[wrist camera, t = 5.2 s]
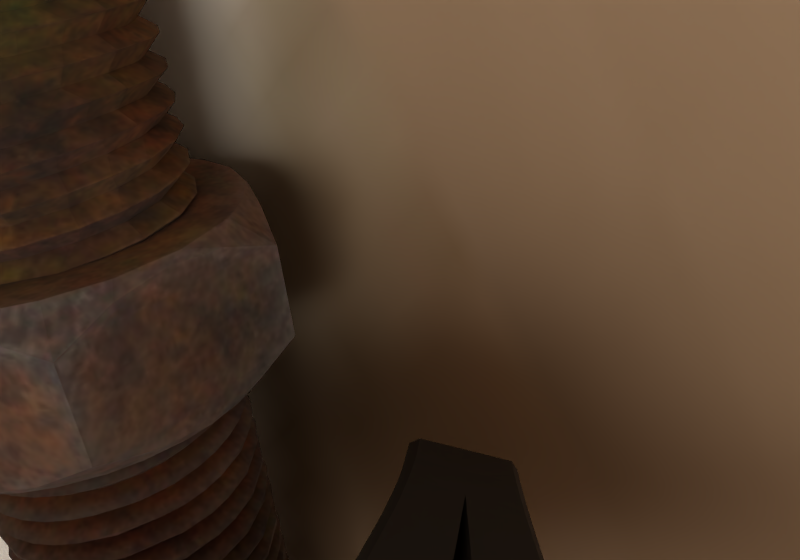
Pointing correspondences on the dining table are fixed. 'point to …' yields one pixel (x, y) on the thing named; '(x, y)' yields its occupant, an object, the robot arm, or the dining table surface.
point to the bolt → (125, 306)
